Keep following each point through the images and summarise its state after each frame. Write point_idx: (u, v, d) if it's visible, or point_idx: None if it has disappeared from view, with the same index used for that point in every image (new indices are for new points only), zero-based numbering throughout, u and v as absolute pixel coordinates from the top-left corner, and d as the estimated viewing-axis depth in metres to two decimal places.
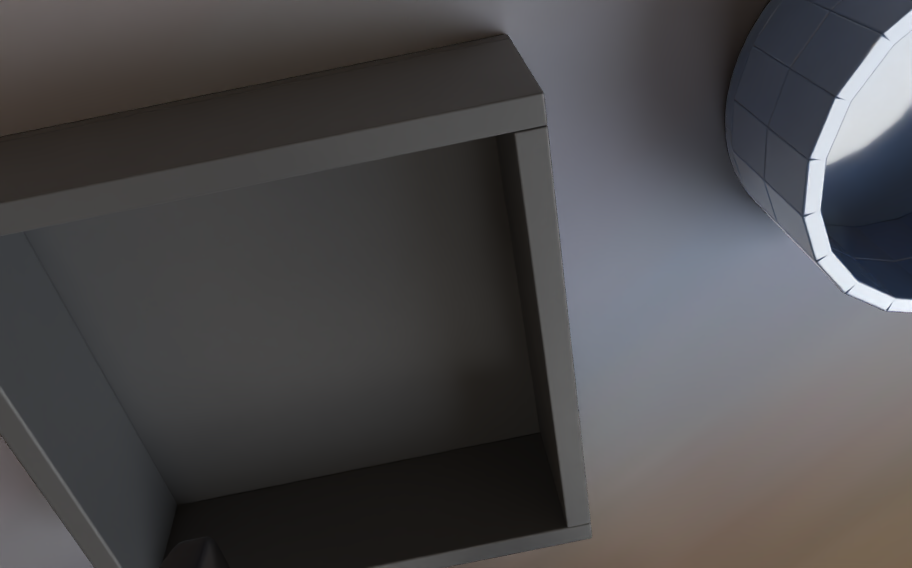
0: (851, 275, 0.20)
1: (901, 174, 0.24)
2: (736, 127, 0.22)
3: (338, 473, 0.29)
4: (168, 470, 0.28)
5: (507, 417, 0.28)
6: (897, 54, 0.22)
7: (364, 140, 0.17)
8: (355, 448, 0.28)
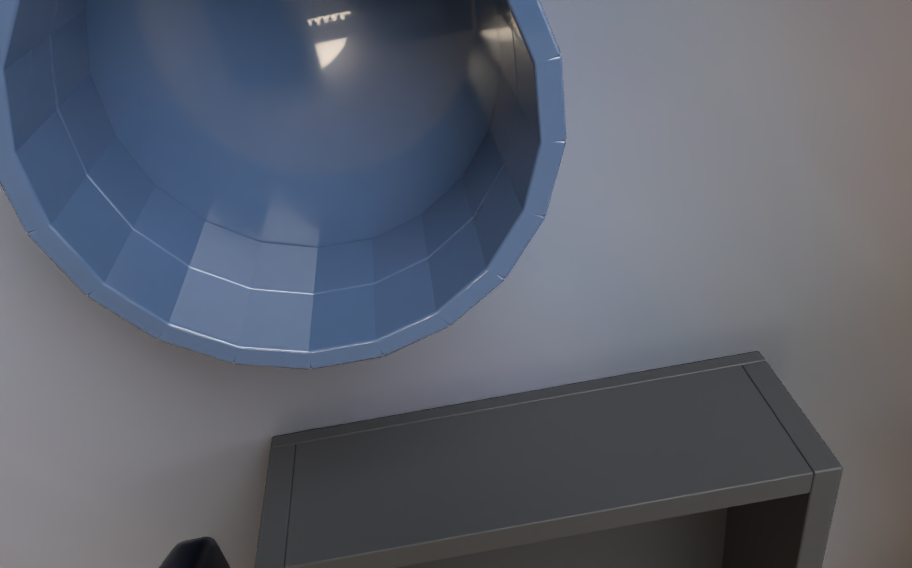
0: (476, 279, 0.15)
1: (423, 24, 0.17)
2: None
3: (724, 541, 0.28)
4: None
5: None
6: (254, 87, 0.17)
7: None
8: (697, 529, 0.28)
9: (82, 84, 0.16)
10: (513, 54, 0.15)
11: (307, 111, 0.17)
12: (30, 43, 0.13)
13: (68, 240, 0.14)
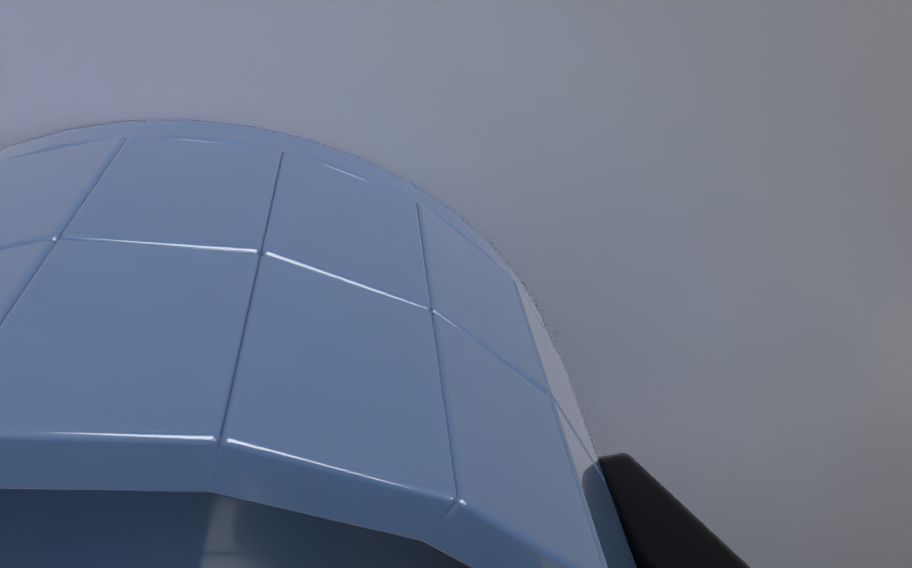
0: None
1: None
2: None
3: None
4: None
5: None
6: (143, 499, 0.11)
7: None
8: None
9: None
10: None
11: (233, 519, 0.11)
12: None
13: None
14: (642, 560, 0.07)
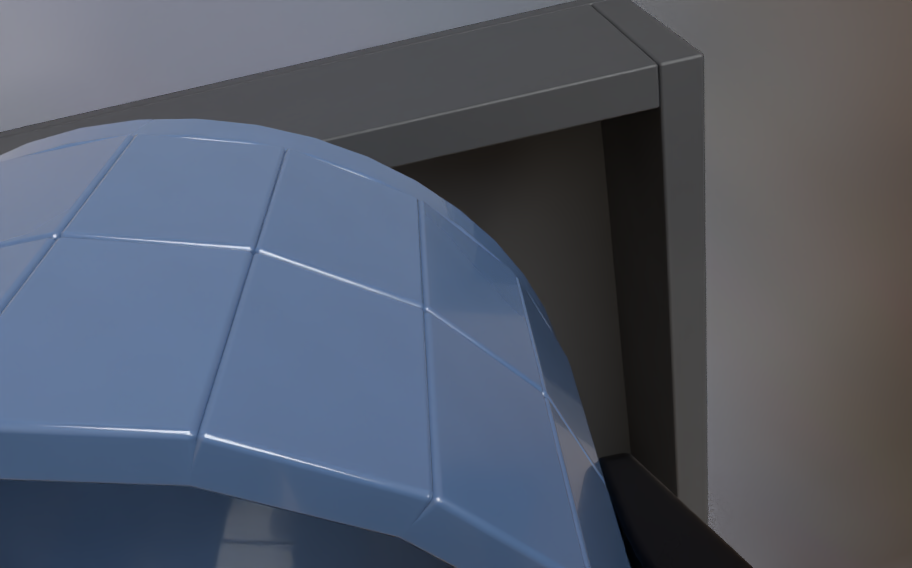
0: None
1: None
2: None
3: (618, 315, 0.21)
4: None
5: None
6: (157, 488, 0.11)
7: None
8: (578, 296, 0.21)
9: None
10: None
11: (244, 509, 0.11)
12: None
13: None
14: (645, 560, 0.07)
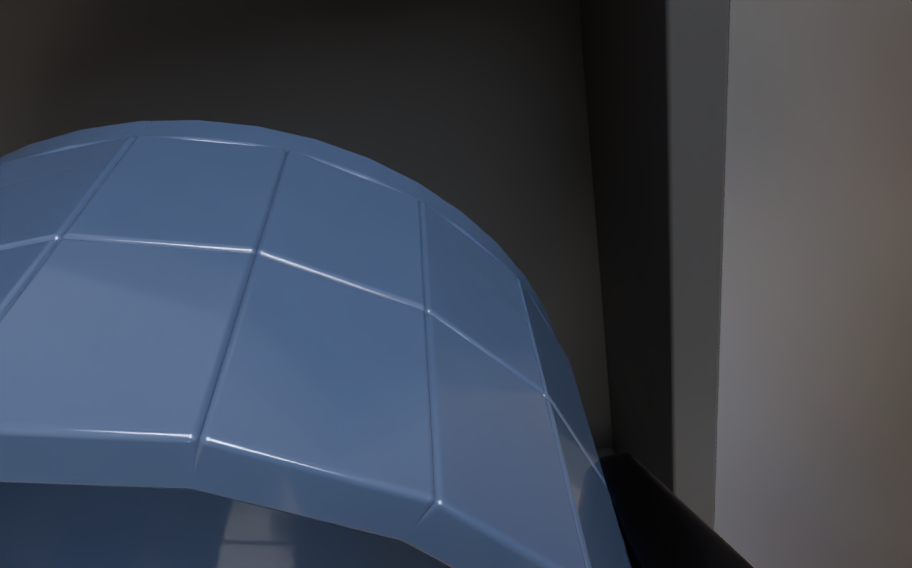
0: None
1: None
2: None
3: (597, 235, 0.16)
4: None
5: None
6: (158, 489, 0.11)
7: None
8: (543, 206, 0.15)
9: None
10: None
11: (245, 510, 0.11)
12: None
13: None
14: (645, 560, 0.07)
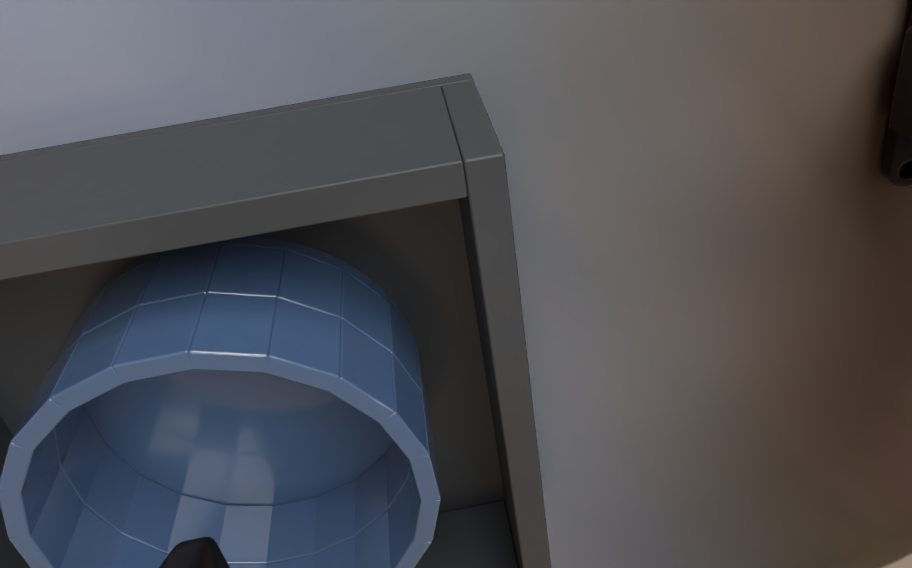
0: None
1: None
2: None
3: (484, 362, 0.23)
4: (451, 502, 0.26)
5: None
6: (214, 409, 0.22)
7: None
8: (445, 344, 0.22)
9: (79, 426, 0.21)
10: None
11: (257, 420, 0.22)
12: (39, 454, 0.18)
13: None
14: None
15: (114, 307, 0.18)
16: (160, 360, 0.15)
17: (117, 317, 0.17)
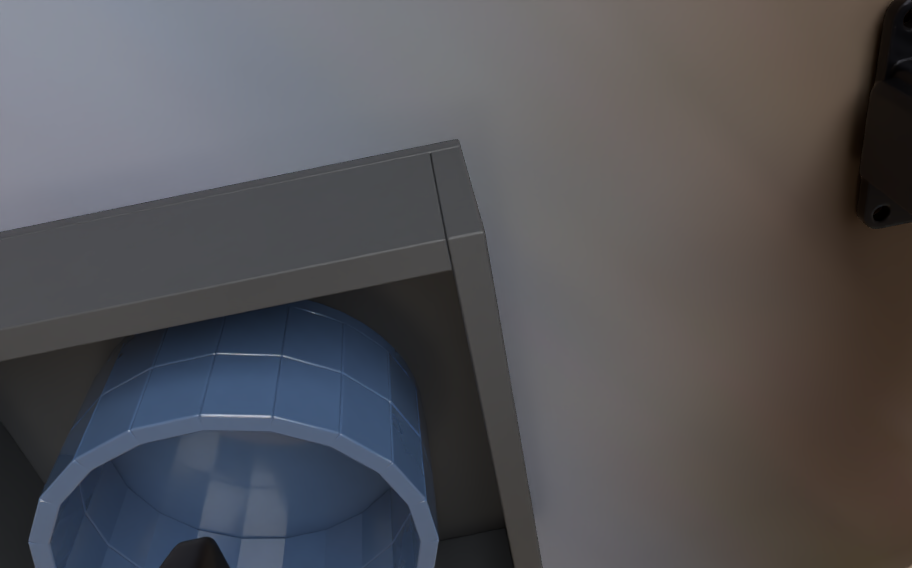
0: None
1: None
2: None
3: None
4: (456, 530, 0.27)
5: None
6: (227, 451, 0.23)
7: None
8: (443, 385, 0.23)
9: (102, 472, 0.22)
10: None
11: (268, 461, 0.23)
12: (65, 504, 0.19)
13: None
14: None
15: (131, 367, 0.19)
16: (173, 423, 0.17)
17: (133, 378, 0.18)
